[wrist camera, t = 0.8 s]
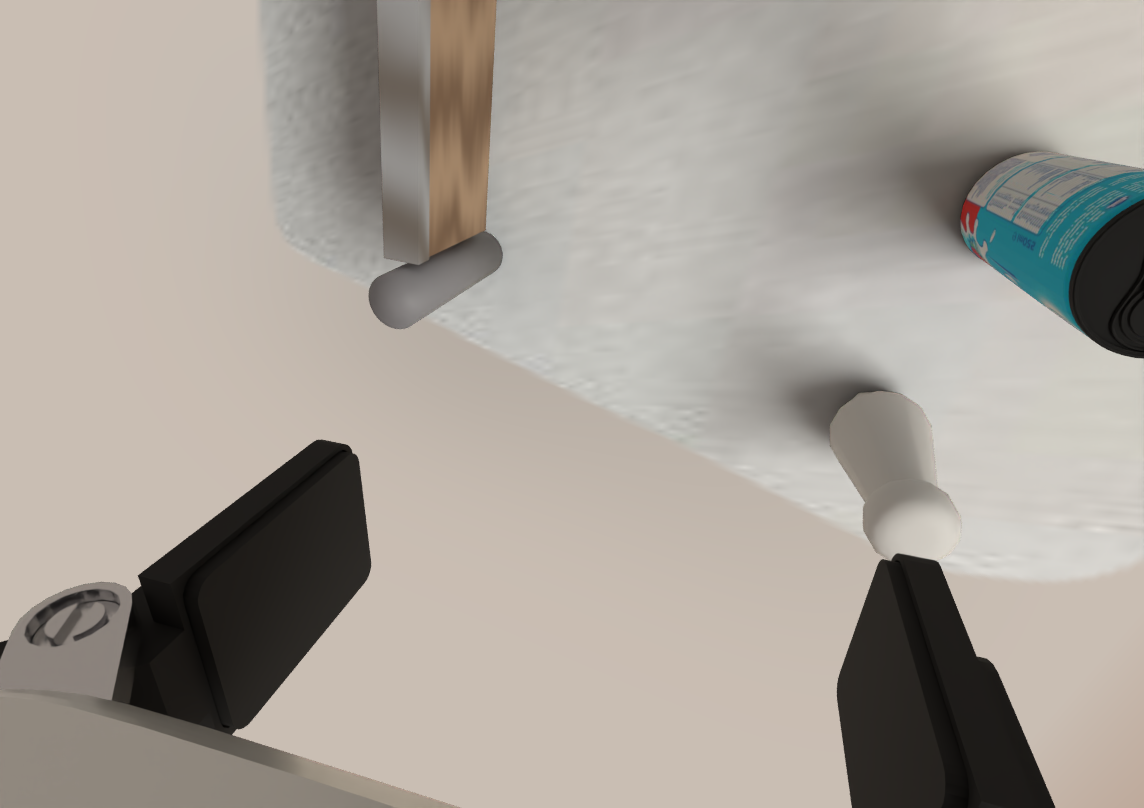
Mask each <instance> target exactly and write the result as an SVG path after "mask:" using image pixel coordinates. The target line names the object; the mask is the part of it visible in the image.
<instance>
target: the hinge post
mask: <svg viewBox="0 0 1144 808" xmlns="http://www.w3.org/2000/svg"><path fill="white" fill-rule="evenodd" d="M502 257H503V254H502V249H501V246H500V244H499V242H498V241H497V239H496V238H495V237H494V236H492V235H491V234H489V233H487V232H483V231H482V232H480V233H478V234H476V235H474V236H472V237H470V238H468V239H466V240H464V241H461V242H459V243H457V244H455V245H453V246H451V247H449V248H447V249H445V250H443V251H441V252H438V253H436V254H434V255H432V256H430V257H429V260H428V261H426V262H424V263H421V264H419V265H416V264H411V263H407V264H405V265H402V266H400V267H398V268H396V269H394V270H392V271H389V272H387V273H385V274H383V275H381V276H379V277H377V278H376V279H375V280H374V281H373V282H372V284H371V286H370V289H369V302H370V306H371V308H372V310H373V312H374V314H375V315H376V316H377V318H378V319H379V320H380V321H381V322H383V323H384V324H385V325H387V326H389V327H391V328H395V329H405V328H408V327H410V326H412V325H413V324H415V323H416V322H418V321H419V320H421V319H422V318H424V317H425V316H427V315H429V314H430V313H432V312H433V311H435V310H436V309H438V308H439V307H441V306H442V305H444V304H445V303H447V302H449V301H450V300H452V299H453V298H455V297H456V296H458V295H459V294H461V293H462V292H464V291H465V290H467V289H469V288H470V287H472V286H473V285H475V284H476V283H478V282H479V281H481V280H482V279H484V278H485V277H487V276H489V275H490V274H492V273H493V272H495V271H496V270H497V269H498V268H499V266H500V265H501V262H502Z"/></svg>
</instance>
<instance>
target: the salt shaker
mask: <svg viewBox="0 0 1144 808" xmlns="http://www.w3.org/2000/svg"><path fill="white" fill-rule="evenodd" d="M830 447H831V448H832V450H833V452H834V454H835V455H836V457H837V459H838V461H839V463H840V464H841V466H842V467H843V469H844V470H845V472H846V473H847V475H848V477H849V478H850V480H851V481H852V483H853V484H854V486H855V487H856V489H857V491H858V492H859V494H860V495H861V497H862V498H863V500H864V501H865V504H864V507H863V529H864V532H865V534H866V536H867V538H868V539H869V541H870V543H871V544H872V546H873V548H874V550H875V551H876V553H878V554H880V555H881V556H883V557H885V558H886V559H888V560H889V561H891V560H892V558H893V556H894V555H895V554H897V553H901V554H906V555H911V556H916V557H921V558H926V559H931V560H935V561H938V560H940V559H942V558H944V557H946V556H948V555H950V553H951V552H952V551H953V549H954V548H955V547H956V546H957V544H958V543H959V542H960V537H961V529H962V522H961V516H960V515H959V513H958V511H957V509H956V508H955V506H954V504H953V502H952V501H951V499H950V497H949V495H948V494H947V493H945V492H944V491H942V490H941V489H939V488H938V484H937V474H936V464H935V455H934V445H933V435H932V426H931V424H930V422H929V420H928V418H927V417H926V415H925V413H924V411H923V409H922V408H921V407H920V406H919V405H918V404H916V403H915V402H913V401H911V400H910V399H908V398H907V397H905V396H904V395H902V394H898V393H894V392H890V391H889V392H884V391H876V392H862V393H858V394H857V395H856V396H855V397H854V398H853V399H852V400H850V401H849V402H848V403H846V404H845V405H843V406H842V407H840V409H839V410H838V412H837V414H836V415H835V417H834V419H833V420H832V422H831V424H830Z"/></svg>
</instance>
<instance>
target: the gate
mask: <svg viewBox="0 0 1144 808" xmlns="http://www.w3.org/2000/svg"><path fill="white" fill-rule="evenodd" d="M496 2H497V0H377V31H378V66H379V101H380V136H381V171H382V206H383V240H384V258H386V259H391V260H396V261H401V262H406V263H411V264H416V265H419V264H421V263H424V262H426V261H428V260H429V257H430V256H432V255H434V254H436V253H438V252H441V251H443V250H445V249H447V248H449V247H451V246H453V245H455V244H457V243H459V242H461V241H464V240H466V239H468V238H470V237H472V236H474V235H476V234H478V233H480V232H482V231H485V230H486V209H487V188H488V168H489V147H490V126H491V105H492V85H493V64H494V43H495V22H496Z"/></svg>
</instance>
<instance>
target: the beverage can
mask: <svg viewBox="0 0 1144 808" xmlns="http://www.w3.org/2000/svg"><path fill="white" fill-rule="evenodd" d="M960 220H961V232H962V235H963V238H964V241H965V243H966V244H967V246H968V247H969V249H970V250H971V251H972V252H973V253H974V254H975V255H976V256H977V257H979V258H980V259H982V260H983V261H985V262H986V263H987V264H989V265H990V266H991V267H993V268H994V269H995V270H997V271H998V272H999V273H1001V274H1002V275H1004V276H1005V277H1006V278H1008V279H1009V280H1010V281H1012V282H1013V283H1014V284H1016V285H1017V286H1018V287H1020V288H1021V289H1022V290H1024V291H1025V292H1026V293H1028V294H1029V295H1030V296H1032V297H1033V298H1034V299H1036V300H1037V301H1039V302H1040V303H1041V304H1043V305H1044V306H1045V307H1047V308H1048V309H1050V310H1051V311H1052V312H1054V313H1055V314H1057V315H1058V316H1059V317H1061V318H1062V319H1063V320H1065V321H1066V322H1068V323H1069V324H1070V325H1072V326H1073V327H1075V328H1076V329H1078V330H1079V331H1080V332H1082V333H1083V334H1085V335H1086V336H1088V337H1089V338H1090V339H1092V340H1093V341H1094V342H1096V343H1097V344H1099V345H1100V346H1102V347H1104V348H1106V349H1107V350H1110V351H1112V352H1115V353H1117V354H1121V355H1124V356H1129V357H1134V358H1144V169H1141V168H1136V167H1130V166H1125V165H1119V164H1113V163H1108V162H1102V161H1096V160H1091V159H1085V158H1080V157H1074V156H1068V155H1063V154H1059V153H1053V152H1044V151H1040V152H1030V153H1024V154H1021V155H1017V156H1014V157H1011V158H1009V159H1007V160H1005V161H1003V162H1001V163H999V164H997V165H996V166H995V167H993V168H992V169H990V170H989V171H988V172H986V173H985V174H984V175H983V176H982V177H981V178H980V179H979V180H978V181H977V182H976V183H975V185H974V186H973V188H972V189H971V190H970V192H969V193H968V195H967V198H966V200H965V202H964V204H963V208H962V213H961V219H960Z"/></svg>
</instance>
